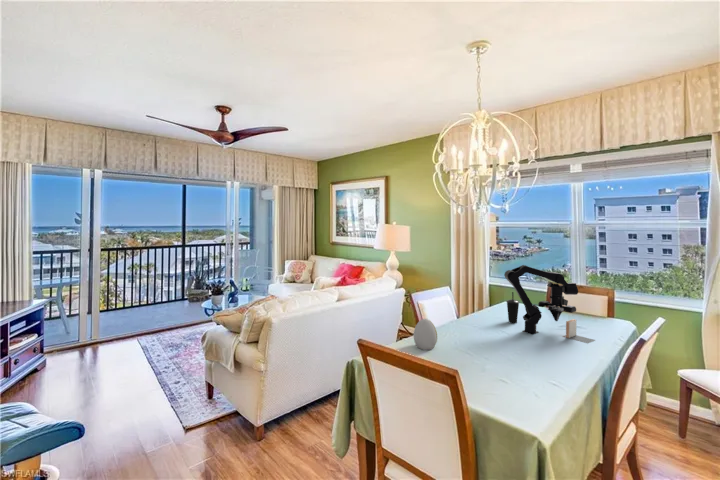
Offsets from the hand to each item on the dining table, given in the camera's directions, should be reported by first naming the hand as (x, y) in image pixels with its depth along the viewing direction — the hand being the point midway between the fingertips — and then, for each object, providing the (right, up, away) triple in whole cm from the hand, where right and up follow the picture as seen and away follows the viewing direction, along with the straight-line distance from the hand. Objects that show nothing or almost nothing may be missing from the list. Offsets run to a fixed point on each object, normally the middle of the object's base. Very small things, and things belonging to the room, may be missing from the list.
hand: (556, 321), depth 192 cm
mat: (+6, -7, -10) cm, 14 cm away
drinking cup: (-15, -7, +23) cm, 28 cm away
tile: (+4, -7, -6) cm, 10 cm away
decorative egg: (-80, -9, -18) cm, 82 cm away
